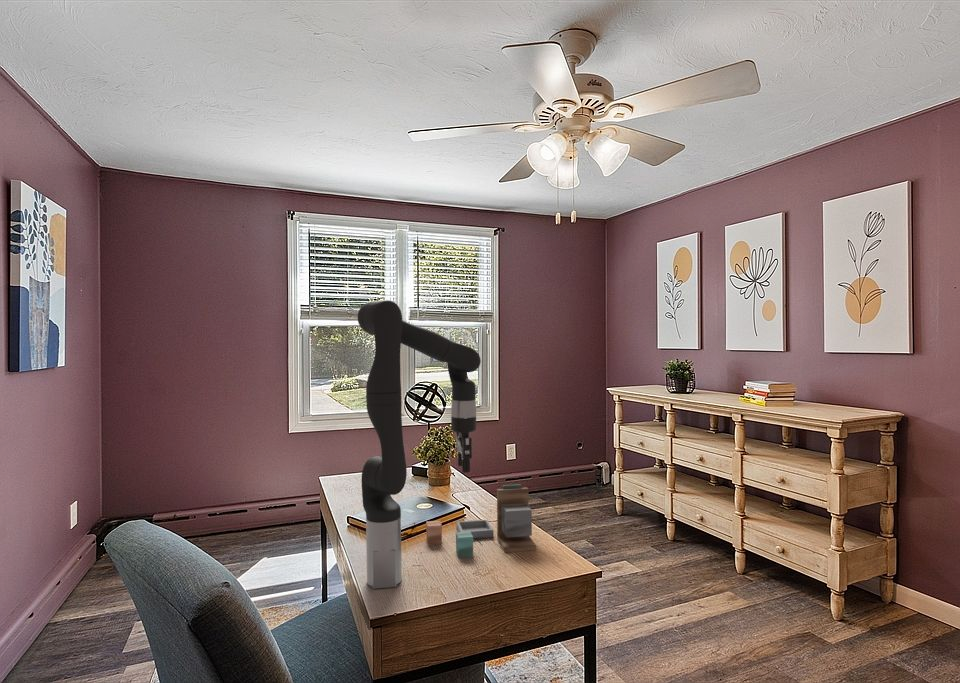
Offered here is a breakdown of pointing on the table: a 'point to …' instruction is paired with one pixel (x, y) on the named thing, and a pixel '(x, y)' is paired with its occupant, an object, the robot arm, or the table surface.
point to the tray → (476, 528)
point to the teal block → (464, 544)
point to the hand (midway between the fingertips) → (463, 468)
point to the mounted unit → (514, 519)
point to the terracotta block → (433, 532)
